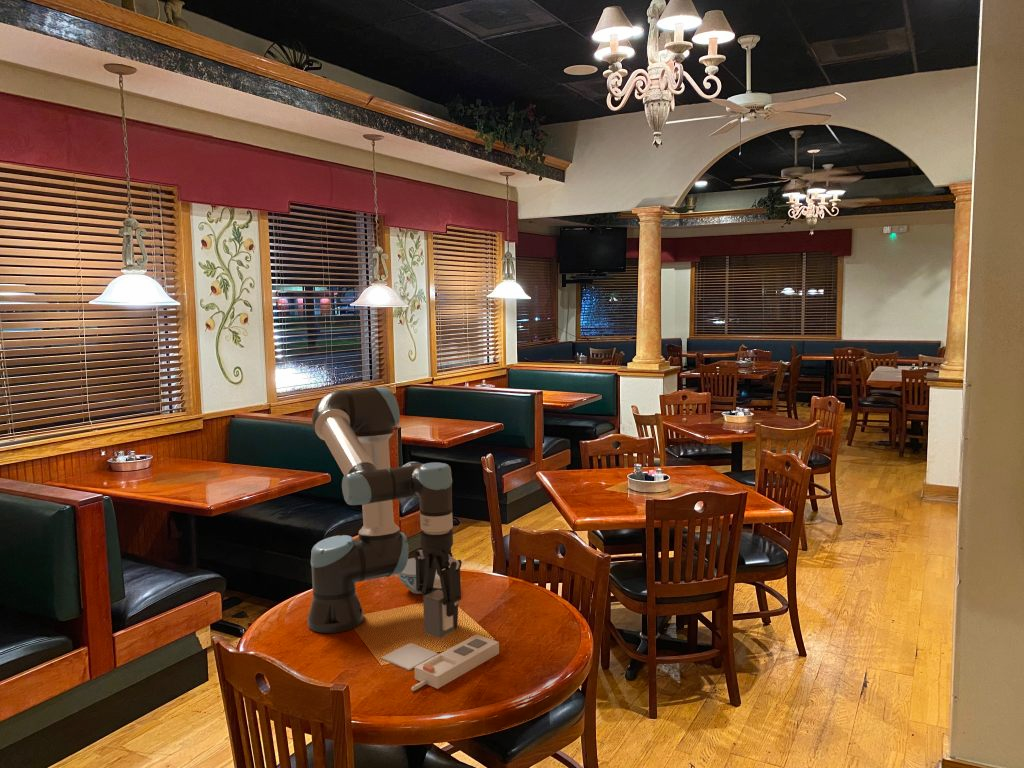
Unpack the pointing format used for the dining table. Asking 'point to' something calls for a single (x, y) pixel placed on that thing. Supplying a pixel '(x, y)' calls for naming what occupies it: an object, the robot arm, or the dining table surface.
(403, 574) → the chinaware
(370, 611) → the dining table surface
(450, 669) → the power strip
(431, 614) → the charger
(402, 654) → the pad
